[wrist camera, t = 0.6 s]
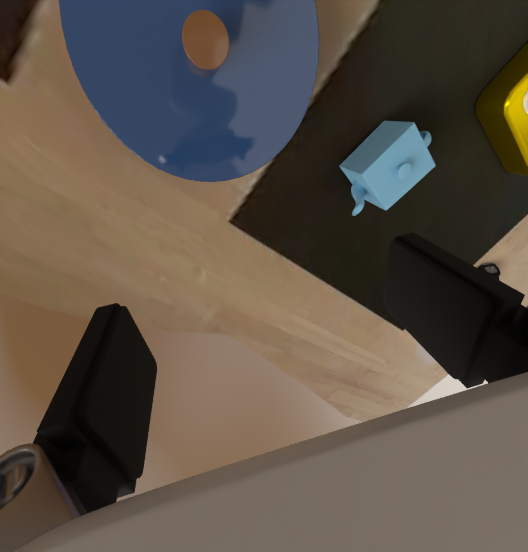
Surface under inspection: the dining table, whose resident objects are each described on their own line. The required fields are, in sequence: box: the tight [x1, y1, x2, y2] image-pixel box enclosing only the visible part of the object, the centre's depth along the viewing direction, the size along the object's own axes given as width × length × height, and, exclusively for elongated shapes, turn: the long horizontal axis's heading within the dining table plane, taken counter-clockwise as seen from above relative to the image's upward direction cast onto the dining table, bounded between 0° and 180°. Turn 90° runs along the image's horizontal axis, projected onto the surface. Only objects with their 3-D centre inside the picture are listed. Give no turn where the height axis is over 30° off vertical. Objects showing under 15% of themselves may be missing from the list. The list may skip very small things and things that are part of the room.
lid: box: [59, 0, 319, 182], centre depth 19 cm, size 19×19×6 cm
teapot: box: [339, 121, 436, 216], centre depth 33 cm, size 12×6×8 cm, turn 134°
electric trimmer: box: [478, 263, 500, 280], centre depth 54 cm, size 4×16×3 cm, turn 2°
